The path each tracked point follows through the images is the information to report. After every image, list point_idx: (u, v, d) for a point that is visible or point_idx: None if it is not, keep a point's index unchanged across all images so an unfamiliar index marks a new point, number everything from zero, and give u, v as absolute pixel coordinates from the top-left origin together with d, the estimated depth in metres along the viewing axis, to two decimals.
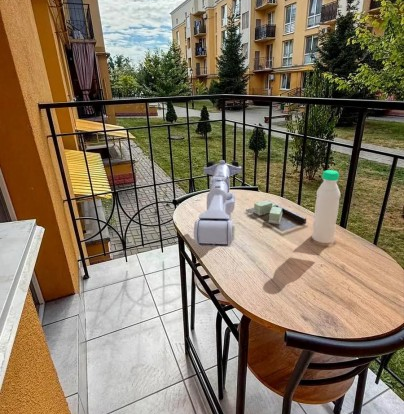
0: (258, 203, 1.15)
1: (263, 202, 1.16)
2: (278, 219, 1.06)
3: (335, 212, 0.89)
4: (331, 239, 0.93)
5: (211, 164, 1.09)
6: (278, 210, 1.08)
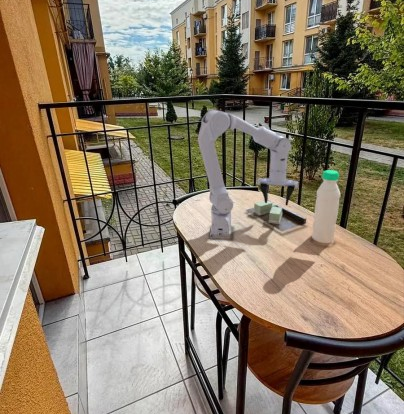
0: (258, 203, 1.15)
1: (263, 202, 1.16)
2: (278, 219, 1.06)
3: (335, 212, 0.89)
4: (331, 239, 0.93)
5: None
6: (278, 210, 1.08)
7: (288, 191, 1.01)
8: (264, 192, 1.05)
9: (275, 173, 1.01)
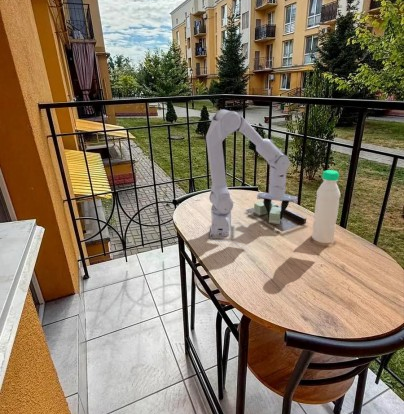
0: (258, 203, 1.15)
1: None
2: (278, 219, 1.06)
3: (335, 212, 0.89)
4: (331, 239, 0.93)
5: None
6: (278, 210, 1.08)
7: (282, 206, 1.04)
8: (267, 207, 1.07)
9: (274, 189, 1.03)
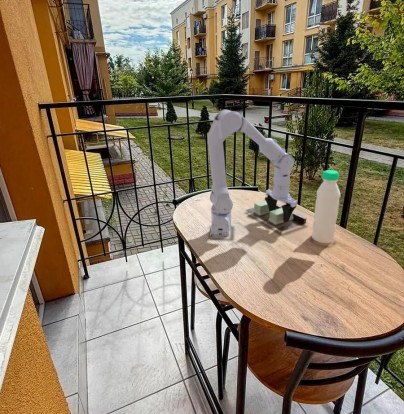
0: (258, 203, 1.15)
1: (263, 202, 1.16)
2: (275, 220, 1.05)
3: (335, 212, 0.89)
4: (331, 239, 0.93)
5: None
6: (281, 211, 1.07)
7: (283, 208, 1.01)
8: (268, 203, 1.09)
9: (274, 187, 1.03)
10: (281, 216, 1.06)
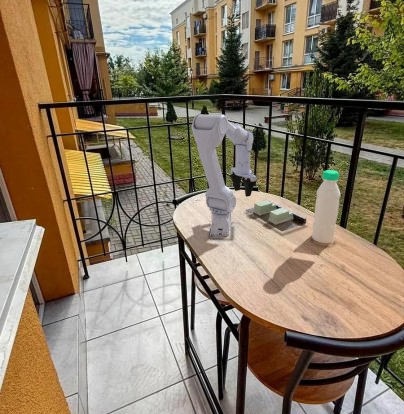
0: (258, 203, 1.15)
1: (263, 202, 1.16)
2: (275, 220, 1.05)
3: (335, 212, 0.89)
4: (331, 239, 0.93)
5: None
6: (281, 211, 1.07)
7: (243, 183, 1.09)
8: (232, 180, 1.17)
9: (236, 164, 1.11)
10: (281, 216, 1.06)
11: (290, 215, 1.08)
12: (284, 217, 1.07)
